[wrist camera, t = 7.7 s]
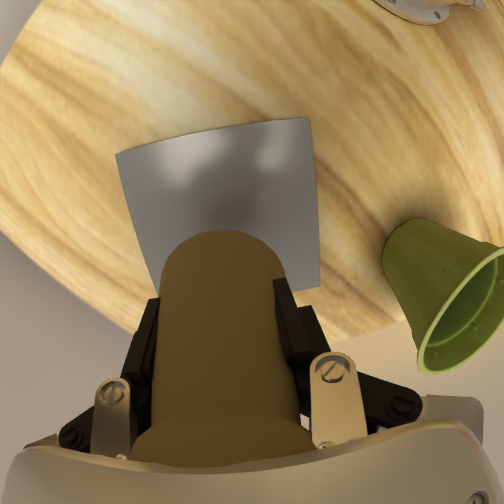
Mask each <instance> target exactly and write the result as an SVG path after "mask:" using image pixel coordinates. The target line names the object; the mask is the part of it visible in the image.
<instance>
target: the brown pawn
mask: <svg viewBox="0 0 504 504" xmlns="http://www.w3.org/2000/svg"><path fill="white" fill-rule="evenodd" d="M284 277H286V276H285V270H284V268H283V266H282V264H281V262H280V260H279V258H278V256H277V254H276V253H275V252H274V251H273V250H272V249H271V248H270V247H269V246H267V245H266V244H265V243H264V242H263V241H262V240H260V239H258V238H255V237H253V236H251V235H249V234H247V233H244V232H240V231H232V230H224V229H219V230H213V231H208V232H202V233H198V234H196V235H195V236H193V237H191V238H189V239H187V240H185V241H183V242H181V243H180V244H179V245H178V246H177V247H176V249H175V250H174V251H173V252H172V253H171V254H170V255H169V256H168V258H167V260H166V263H165V265H164V268H163V270H162V273H161V280H160V288H159V296H158V298H160V305H159V315H158V331H157V340H156V349H155V358H154V369H153V380H152V401H151V427H150V428H149V429H148V430H147V431H145V432H144V433H143V434H141V435H140V436H139V437H138V438H137V439H136V441H135V443H134V445H133V447H132V449H131V451H130V453H129V455H128V457H127V459H126V460H131V461H139V462H150V463H159V464H163V465H167V466H172V467H182V468H207V467H224V466H229V465H234V464H239V463H243V462H248V461H257V460H265V459H272V458H278V457H284V456H290V455H295V454H300V453H305V452H310V451H314V450H318V449H317V447H316V446H315V444H314V443H313V441H312V433H311V432H310V431H309V430H307V429H306V428H304V427H303V426H301V418H300V406H299V394H298V388H297V383H296V378H295V374H294V372H293V371H292V369H291V368H290V366H289V365H288V364H287V363H286V359H285V354H284V350H283V345H282V341H281V336H280V332H279V327H278V323H277V319H276V314H275V287H274V283H273V279H278V278H284Z"/></svg>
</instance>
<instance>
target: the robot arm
mask: <svg viewBox="0 0 504 504" xmlns="http://www.w3.org/2000/svg"><path fill="white" fill-rule="evenodd" d="M375 1H376V2H377V3H379V4H380V5H381V6H383V7H384V8H386V9H387V10H389V11H391V12H392V13H394V14H396V15H398V16H400V17H401V18H403V19H406V20H408V21H411V22H413V23H417V24H422V25H433V24H437V23H441V22H443V21H445V20H446V19H447V18H448V16H449V14H450V11H451V4H454V3H459V4H466V5H467V6H468V7H470V8H472V9H473V10H475V11H477V12H483V11H484V8H485V6H484V3H483V2H482V0H375ZM273 283H274V287H275V314H276V319H277V323H278V327H279V332H280V336H281V341H282V345H283V350H284V354H285V359H286V363H287V364H288V365H289V366H290V368H291V369H292V371H293V372H294V374H295V378H296V383H297V388H298V394H299V406H300V414H302V415H305V416H307V417H309V431H310V432H311V433H312V441H313V443H314V444H315V446H316V447H317V449H318V450H314V451H310V452H305V453H300V454H295V455H290V456H284V457H278V458H272V459H265V460H257V461H248V462H243V463H239V464H234V465H229V466H224V467H207V468H182V467H172V466H167V465H163V464H159V463H150V462H139V461H131V460H126V459H127V457H128V455H129V453H130V451H131V449H132V447H133V445H134V443H135V441H136V439H137V438H138V437H139V436H140V435H141V434H143V433H144V432H145V431H147V430H148V429H149V428H150V427H151V401H152V380H153V369H154V358H155V349H156V340H157V331H158V315H159V305H160V298H153V299H149V300H148V303H147V305H146V308H145V311H144V314H143V316H142V319H141V322H140V325H139V328H138V330H137V331H136V332H135V334H134V336H133V339H132V342H131V345H130V348H129V351H128V354H127V357H126V360H125V363H124V366H123V369H122V373H121V376H120V378H112V379H108V380H106V381H105V382H103V383H102V384H101V385H100V386H99V388H98V389H97V391H96V395H95V403H94V406H92V407H91V408H89V409H88V410H86V411H85V412H83V413H82V414H80V415H79V416H78V417H76V418H75V419H73V420H72V421H71V422H69V423H67V424H66V425H65V426H64V427H62V429H61V431H60V433H59V435H58V434H57V433H55V434H53V435H51V436H48V437H46V438H43V439H40V440H38V441H35V442H33V443H30V444H28V445H26V446H25V447H24V448H23V450H21V451H19V452H18V453H17V454H16V455H15V456H14V458H13V460H12V462H11V464H10V467H9V470H8V472H7V476H6V479H5V483H4V488H3V492H2V497H1V504H504V493H503V490H502V487H501V484H500V482H499V479H498V477H497V474H496V472H495V470H494V468H493V466H492V464H491V462H490V460H489V458H488V456H487V454H486V452H485V450H484V449H483V447H482V443H483V420H484V419H483V418H484V415H483V414H484V411H483V406H482V404H481V403H480V401H478V400H477V399H475V398H472V397H457V396H441V395H428V394H427V396H426V397H420V396H419V395H418V394H417V393H416V392H415V391H414V390H411V389H409V388H406V387H403V386H400V385H397V384H393V383H390V382H387V381H384V380H381V379H378V378H375V377H372V376H369V375H367V374H364V373H361V372H358V371H357V370H356V366H355V363H354V361H353V360H352V359H351V358H350V357H349V356H348V355H346V354H344V353H340V352H331V350H330V347H329V345H328V342H327V340H326V338H325V335H324V333H323V331H322V328H321V326H320V324H319V321H318V319H317V317H316V315H315V312H314V310H313V308H312V306H311V305H308V306H303V307H298V308H297V305H296V303H295V300H294V297H293V295H292V292H291V289H290V287H289V284H288V281H287V279H286V277H284V278H278V279H273Z"/></svg>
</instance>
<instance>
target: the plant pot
mask: <svg viewBox="0 0 504 504" xmlns="http://www.w3.org/2000/svg"><path fill="white" fill-rule="evenodd" d="M382 267H383V271H384V274H385V276H386V278H387V280H388V282H389V284H390V286H391V288H392V290H393V291H394V293H395V295H396V297H397V300H398V302H399V304H400V306H401V308H402V310H403V312H404V314H405V316H406V318H407V320H408V322H409V325H410V327H411V329H412V337H413V340H414V342H415V345H416V347H417V350H418V353H417V366H418V368H419V370H420V372H421V373H423V374H424V375H428V376H438V375H442V374H445V373H447V372H450V371H452V370H454V369H456V368H458V367H459V366H461V365H462V364H464V363H465V362H466V361H468V360H469V359H471V358H472V357H473V356H474V355H475V354H477V353H478V352H479V351H480V350H481V349H482V348H483V347H484V346H485V345H486V344H487V342H489V341H490V339H491V338H492V337H493V336H494V335H495V333H496V332H497V330H498V329H499V328H500V327H501V325H502V324H503V322H504V247H501V248H500V247H497V246H495V245H492V244H490V243H488V242H480V241H477V240H475V239H473V238H470V237H468V236H466V235H463V234H461V233H458V232H456V231H454V230H451V229H449V228H446V227H444V226H441V225H438V224H436V223H433V222H431V221H428V220H425V219H421V218H415V219H411V220H410V221H408V222H407V223H405V224H403V225H402V226H400V227H398V228H397V229H396V230H395V231H394V232H393V233H392V234H391V236H390V237H389V239H388V241H387V243H386V245H385V247H384V250H383V254H382Z"/></svg>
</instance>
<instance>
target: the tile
mask: <svg viewBox="0 0 504 504" xmlns="http://www.w3.org/2000/svg"><path fill="white" fill-rule="evenodd" d="M115 157H116V161H117V166H118V170H119V174H120V178H121V182H122V186H123V190H124V194H125V197H126V201H127V205H128V208H129V212H130V215H131V218H132V222H133V225H134V228H135V232H136V235H137V238H138V241H139V244H140V247H141V250H142V253H143V256H144V259H145V262H146V265H147V267H148V270H149V273H150V276H151V278H152V281H153V284H154V286H155V289H156V292H157V294H158V296H159V288H160V280H161V273H162V270H163V268H164V265H165V263H166V260H167V258H168V256H169V255H170V254H171V253H172V252H173V251H174V250H175V249H176V247H177V246H178V245H179V244H180V243H181V242H183V241H185V240H187V239H189V238H191V237H193V236H195V235H196V234H198V233H202V232H208V231H213V230H219V229H224V230H232V231H240V232H244V233H247V234H249V235H251V236H253V237H255V238H258V239H260V240H262V241H263V242H264V243H265V244H266V245H267V246H269V247H270V248H271V249H272V250H273V251H274V252H275V253H276V254H277V256H278V258H279V260H280V262H281V264H282V266H283V268H284V270H285V276H286V279H287V281H288V284H289V287H290V289H291V292H294V291H299V290H304V289H309V288H314V287H319V286H320V246H319V223H318V206H317V191H316V178H315V166H314V156H313V146H312V137H311V128H310V120H309V117H308V118H295V119H283V120H274V121H265V122H257V123H250V124H243V125H236V126H230V127H224V128H218V129H213V130H208V131H203V132H198V133H193V134H188V135H184V136H179V137H175V138H171V139H167V140H163V141H159V142H155V143H152V144H148V145H144V146H141V147H137V148H134V149H131V150H127V151H124V152H121V153H118V154H115Z"/></svg>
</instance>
